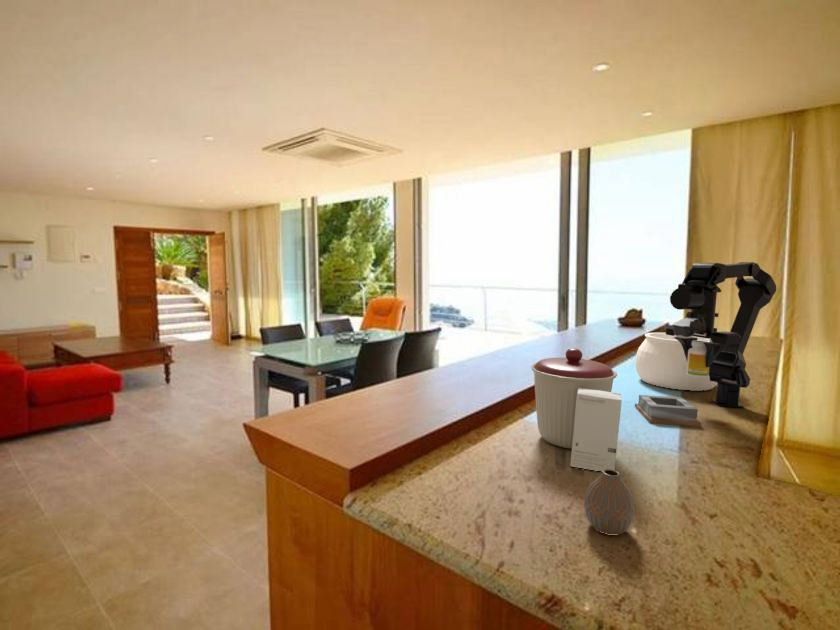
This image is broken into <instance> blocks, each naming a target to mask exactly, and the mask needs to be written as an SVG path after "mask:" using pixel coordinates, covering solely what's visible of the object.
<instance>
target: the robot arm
mask: <svg viewBox="0 0 840 630" xmlns="http://www.w3.org/2000/svg"><path fill="white" fill-rule="evenodd" d="M691 266H692V267H690V268H689V270H688V272H687V274H686V276H685V277H684V278H683V281H682V282H681V283H678V285H677V288H675V289H674V290H673V291H672V292H671V294H670V297H669V302H670V304H671V306H672V307H673V308H674V309H676V310H690V311H687V312H686V315H685V318H682V319H679V320H678V321H676V322H673V323H672V324H669V325H667V327H666V328H665V333H666V335H672V336H675V335H676V337H674V338H675V339H677V340H678V341H679V342H680V343H681V345H682V347H683V350H684V353H685V357H686V360H687V359H688V350H689V349H690V348H692V347H693V346H692V341H693V340H697V338H695V337H701V338H707V339H710V341H709V342H705V343H704V344H705V346H706V348H707V350H706V367H709V378H710V381H714V382H717V385H716V395H715V398H710V401H711V402H713V404H716V405H718V406H719V407H728V408H729V407H731V408H745V405H743V404H742V403H740V395H741V388H748V387H749V385H750V383H751V378H750V376H749V374H748V372H747V371H746V366H747V362H746V360H745V357H744V352H745V350H746V347H747V344H748V342H749V339H750V337H751V334H752V332H753V328H754V325H755V324H756V320H757V318H758V316H759V313H760V311H761V310H762V309H763V308H764V307H766V306H767V305H768V304H770V303H771V301H772V298H773V297H774V295H775V294H776V291H777V284H776V282H775V281H774V279H773V277H772V275H771V274H769V273H767V272H766V271H764V270H763V269H762V268H761V267H760V265H759V264H758V263H757V262H754V261H753V262H752V261H751V262H749V261H747V262H745V261H743V262H736V263H728V264H727V263H726V264H725V263H722V262H721V263H720V262H696V263H695V262H694V263H693V264H692V265H691ZM745 277H747V278H745ZM748 277H752V278H748ZM733 278H734V279H735V278H736V280H735V283H734V284H735V286H736V288H737V289H738V293H737V296H738V298H739V301H740V306H739V308H738V310H737V313H736V316H735V317H734V321H733V323H732V326H731V329H730V331H726V330H725V331H718V328H717V327H715V321H716V320H715V318H719V312H716V306H717V295H718V293H721V292H722V290H721V288H720V287H719V286H718V285H719V284H721V283H724V282H725V281H726V279H733ZM692 336H695V337H692Z"/></svg>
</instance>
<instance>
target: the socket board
mask: <svg viewBox="0 0 840 630" xmlns="http://www.w3.org/2000/svg"><path fill="white" fill-rule="evenodd" d="M635 407H636V408H635ZM634 408H635V409H636V410H637V411H638V412H639V414H641V415H642V416H643V417H644V419H645V420H646V421H647V422H648V423H649V424H656V425H657V424H660V425H674V426H685V427H686V426H687V427H698V428H701V427H702V422H701V421H699V420H698V408H697V407H695V406H694V405H693V404H692V403H690V402H688V401H687V400H685V399H684V398H683V397H679V396H663V395H651V394H650V395H649V394H648V395H647V394H638V403H634Z"/></svg>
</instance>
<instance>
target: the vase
mask: <svg viewBox="0 0 840 630" xmlns="http://www.w3.org/2000/svg"><path fill="white" fill-rule="evenodd" d="M634 501H635V500H634V498H633V495H632V492H631V490H630V489H629V488H628V486H627V485H626V483H625V482H624V480H623V478H622V476H621V474H620V472H619V471H617V470H611V469H605V470H603V471H602V473H601V472H600V475H599V476H598V477H596V478H595V479H594V480H593V481H592V482H591V483H590V484H589V485H588V487H587V489H586V491H585V494H584V502H583V503H584V504H583V506H584V507H583V509H584V512H585V516H586V517H585V518H586V519H587V521H588V523H589V524H590V526H591V527H592V528H593V527H594V528H595V529H597V530H599V531H601V532H604V533H607V534H620V535H622V534H624V533H625V532H627V531H628V530H629V529H630V526H632V523H633V520H634V517H635V502H634ZM594 528H593V529H594ZM595 529H594V530H595ZM597 530H596V531H597ZM621 533H622V534H621Z"/></svg>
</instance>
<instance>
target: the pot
mask: <svg viewBox="0 0 840 630" xmlns="http://www.w3.org/2000/svg"><path fill="white" fill-rule="evenodd" d="M644 337H645V339H644V340H643V341H642V342H641V344H640V346H639V347H638V349H637V352H636V354H635V362H634V363H635V369H636V372H637V375H638V377H639V378H640V380H641V381H643V382H645V383H647V384H649V385H652V386H655V385H656V387H659V386H660V388H663V387H665V388H664V389H668V388H671V389H670V390H675V389H678V391H684V390H690V391H689V392H704V391H709V390H712V389H713V388H715V387H717V382H714V381H710V378H709V376H708V377H707V378H698V377H692V376H689V375H687V374H686V370H687V360H686V357H685V353H684V350H683V347H682V345H681V343H680V342H679V341H678V340H677V339H675V338H674V337H676V335H675V336H672V335H666V332H647V333H645V334H644ZM692 337H695V336H692ZM695 338H697V340H699V341H707V342H709V341H710V339H707V338H701V337H695ZM703 390H704V391H703Z"/></svg>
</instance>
